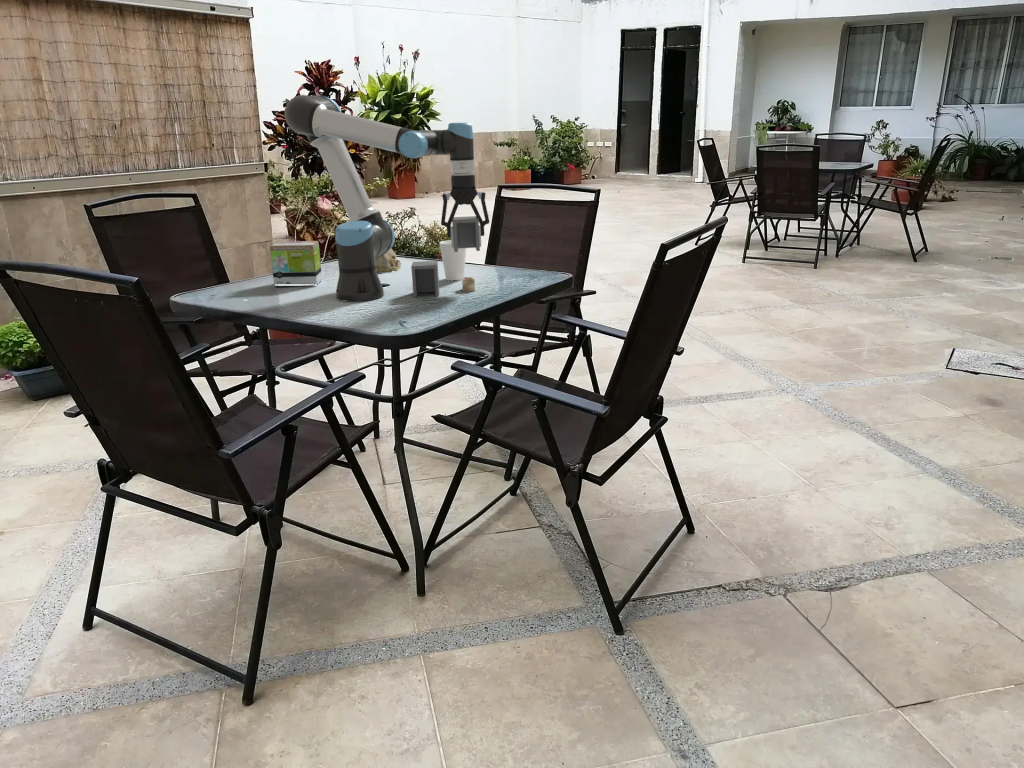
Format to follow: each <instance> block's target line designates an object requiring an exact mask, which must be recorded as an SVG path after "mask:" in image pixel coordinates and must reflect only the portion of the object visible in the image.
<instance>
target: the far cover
mask: <svg viewBox="0 0 1024 768" xmlns="http://www.w3.org/2000/svg"><path fill="white" fill-rule="evenodd" d="M451 225H452V226H453V239H454V251H455V252H458V248H467V249H471V248H472V249H474V248H475V250H476V252H480V251H481V250H480V249H481V247H480V242H479V225H480V223H479V219H478V218H477V217H476V215H473V216H472V215H471V216H469V215H468V216H454V218H453V221H452V223H451ZM452 226H451V227H452Z"/></svg>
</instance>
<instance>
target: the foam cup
mask: <svg viewBox="0 0 1024 768" xmlns="http://www.w3.org/2000/svg"><path fill="white" fill-rule="evenodd" d="M438 244H439V250H440V253H441V255H440V256H441V258H442V259H441V260H442V264H443V270H444V276H445V280H446V281H449V280H451V281H452V282H454V281H453V280H457V281H462V277H465V269H466V256H467V249H468V248H458V252H455V251H454V248H452V247H451V239H449V240H448V239H447V240H442V241H439V243H438Z"/></svg>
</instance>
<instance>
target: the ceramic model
mask: <svg viewBox="0 0 1024 768" xmlns="http://www.w3.org/2000/svg"><path fill="white" fill-rule="evenodd" d="M375 263H376V272H389V273H393V272H392V271H395V272H397V271H399V270H400V269H401V266H402V265H401V260H400V259H397V254H396V252H395V250H393V247H392V248H391V249H390V250H389V251H388V252H387V253H385V254H384V255H382V256H379V257H376V258H375ZM398 269H399V270H398Z"/></svg>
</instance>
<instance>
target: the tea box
mask: <svg viewBox="0 0 1024 768" xmlns="http://www.w3.org/2000/svg"><path fill="white" fill-rule="evenodd" d="M269 252H270V253H269V254H270V262H271V270H272V279H273V285H274V284H314V285H315V284H318V283H319V282H320V281H321V280H322V281H323V274H322V264H321V254H320V244H319V241H318V240H309V241H308V240H307V241H306V240H304V241H302V240H301V241H299V240H298V241H297V240H295V241H275V243H273V244H272V245H269ZM322 281H321V282H322ZM321 282H320V283H321ZM320 283H319V284H320Z"/></svg>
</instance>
